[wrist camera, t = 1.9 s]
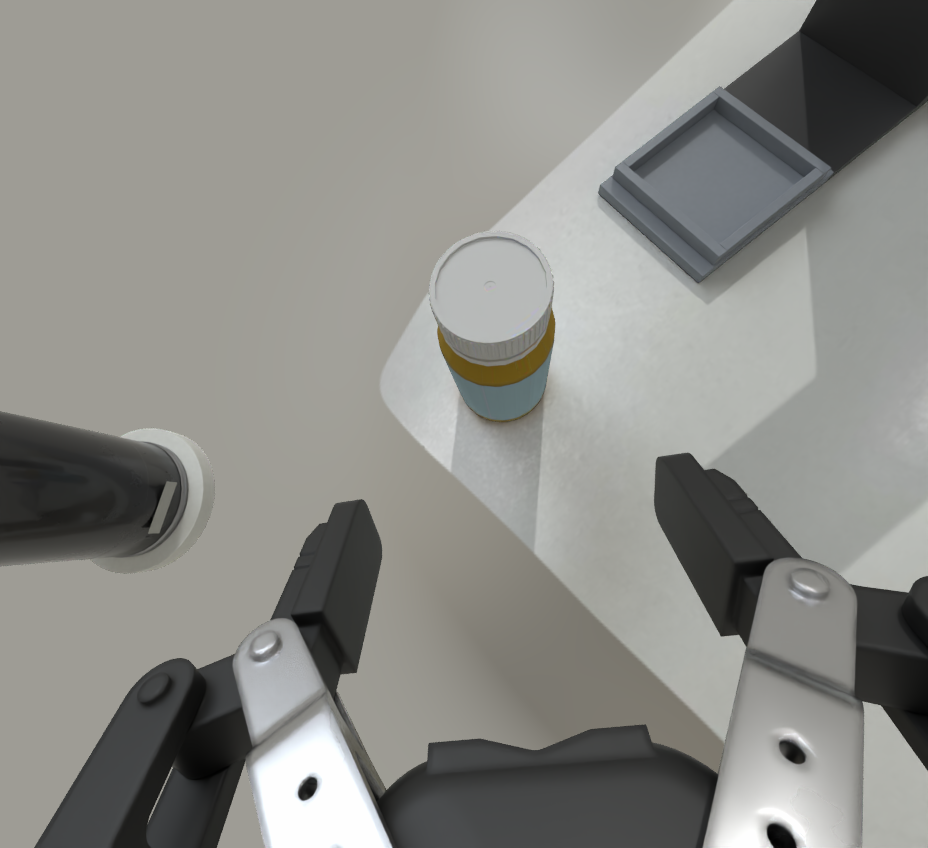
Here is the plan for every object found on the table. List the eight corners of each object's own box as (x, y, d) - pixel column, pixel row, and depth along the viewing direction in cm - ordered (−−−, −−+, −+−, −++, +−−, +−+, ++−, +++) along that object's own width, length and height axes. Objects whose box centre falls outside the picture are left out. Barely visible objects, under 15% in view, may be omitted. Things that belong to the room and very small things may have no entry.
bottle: (455, 419, 35) (410, 347, 21) (465, 340, 37) (430, 221, 22) (541, 427, 34) (557, 357, 20) (548, 345, 36) (567, 224, 21)
